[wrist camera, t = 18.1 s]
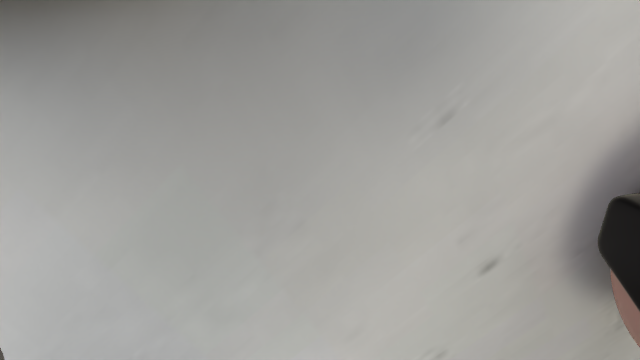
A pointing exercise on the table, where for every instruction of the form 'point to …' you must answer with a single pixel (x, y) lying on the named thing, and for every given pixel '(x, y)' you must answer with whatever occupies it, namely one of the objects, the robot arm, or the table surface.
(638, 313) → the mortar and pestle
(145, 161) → the table surface
